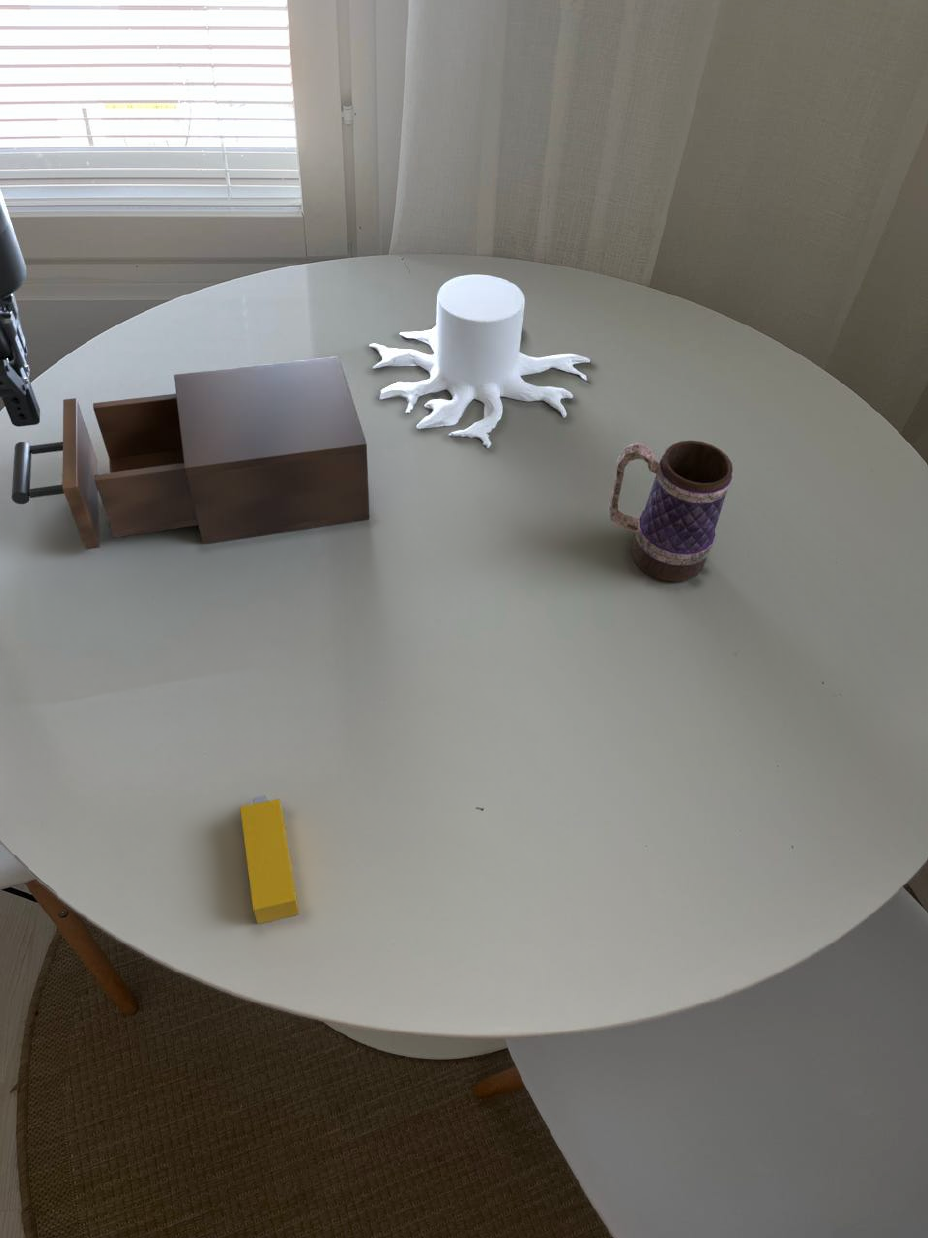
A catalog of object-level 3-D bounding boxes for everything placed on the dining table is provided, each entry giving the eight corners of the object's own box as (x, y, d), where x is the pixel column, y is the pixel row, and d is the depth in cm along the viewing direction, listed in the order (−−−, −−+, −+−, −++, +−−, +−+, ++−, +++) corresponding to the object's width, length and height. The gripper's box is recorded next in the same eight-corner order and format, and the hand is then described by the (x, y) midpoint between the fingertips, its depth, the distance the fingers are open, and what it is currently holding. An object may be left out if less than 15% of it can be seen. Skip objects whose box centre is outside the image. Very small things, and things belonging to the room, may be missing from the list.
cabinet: (203, 544, 84) (184, 468, 77) (191, 450, 92) (173, 374, 85) (369, 519, 87) (366, 444, 80) (343, 431, 96) (338, 355, 89)
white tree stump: (336, 353, 105) (331, 278, 97) (512, 297, 114) (519, 225, 107) (442, 465, 93) (445, 389, 86) (628, 392, 102) (645, 318, 95)
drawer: (27, 558, 81) (-1, 497, 75) (31, 467, 88) (6, 405, 83) (249, 525, 85) (238, 465, 79) (234, 441, 92) (223, 380, 87)
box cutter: (299, 914, 62) (295, 900, 60) (257, 924, 61) (253, 910, 60) (281, 802, 67) (277, 786, 66) (242, 810, 67) (238, 794, 65)
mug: (709, 541, 88) (745, 443, 78) (699, 593, 83) (735, 495, 74) (606, 515, 89) (629, 416, 80) (590, 564, 85) (613, 465, 76)
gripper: (-98, 181, 67) (-16, 380, 80) (-119, 272, 59) (-25, 477, 72) (11, 174, 68) (73, 370, 82) (4, 262, 60) (75, 464, 74)
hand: (27, 420), depth 77 cm, fingers closed
